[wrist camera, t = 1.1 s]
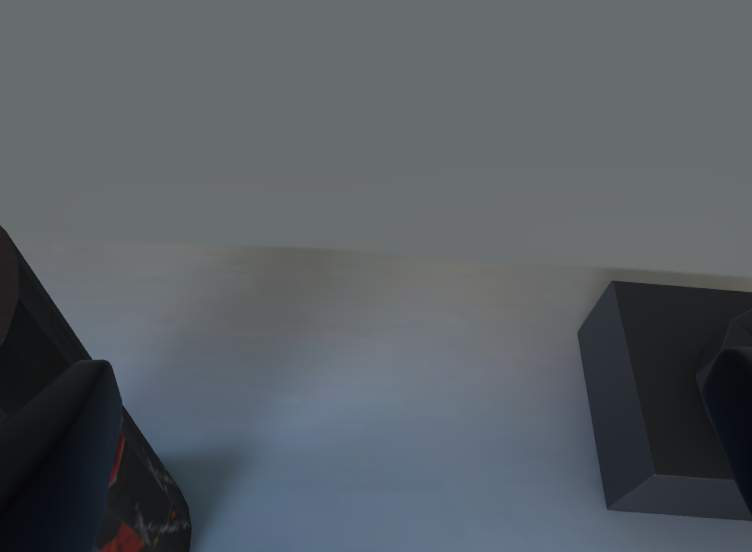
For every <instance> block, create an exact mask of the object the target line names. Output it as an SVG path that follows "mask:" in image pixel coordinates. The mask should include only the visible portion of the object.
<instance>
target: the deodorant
mask: <svg viewBox="0 0 752 552" xmlns="http://www.w3.org/2000/svg"><path fill="white" fill-rule="evenodd" d="M80 360H92V358H91V357H90V355H89V354H88V353H87V351H86V350H85V348H84V347H83V345H82V344H81V342H80V341H79V339H78V338H77V336H76V335H75V333H74V332H73V330H72V329H71V327H70V326H69V324H68V323H67V321H66V320H65V318H64V317H63V315H62V314H61V312H60V311H59V309H58V308H57V306H56V305H55V303H54V302H53V300H52V299H51V298H50V296H49V295H48V293H47V292H46V290H45V289H44V287H43V286H42V284H41V283H40V281H39V280H38V278H37V277H36V275H35V274H34V272H33V271H32V269H31V268H30V266H29V265H28V263H27V262H26V260H25V259H24V257H23V256H22V254H21V253H20V251H19V250H18V248H17V247H16V245H15V244H14V243H13V241H12V240H11V238H10V237H9V235H8V234H7V232H6V231H5V230H4V229H3V228H2V227H1V226H0V423H1V422H3V421H4V420H5V419H6V418H8V417H9V416H10V415H11V414H12V413H14V412H15V411H16V410H17V409H18V408H20V407H21V406H22V405H23V404H24V403H26V402H27V401H28V400H29V399H31V398H32V397H33V396H34V395H35V394H37V393H38V392H39V391H40V390H41V389H43V388H44V387H45V386H46V385H48V384H49V383H50V382H51V381H52V380H54V379H55V378H56V377H57V376H58V375H60V374H61V373H62V372H63V371H64V370H66V369H67V368H68V367H69V366H71V365H72V364H73V363H75V362H77V361H80ZM122 406H123V405H122ZM190 537H191V522H190V516H189V510H188V506H187V504H186V502H185V500H184V498H183V496H182V493H181V491H180V489H179V488H178V486H177V485H176V483H175V482H174V480H173V479H172V477H171V476H170V474H169V473H168V471H167V470H166V468H165V467H164V465H163V464H162V463H161V461H160V460H159V458H158V457H157V455H156V454H155V452H154V451H153V449H152V448H151V446H150V445H149V443H148V442H147V440H146V439H145V437H144V436H143V434H142V433H141V431H140V430H139V428H138V427H137V425H136V424H135V422H134V421H133V419H132V418H131V416H130V415H129V413H128V412H127V410H126V409H125V408H124V406H123V411H122V420H121V425H120V430H119V435H118V440H117V445H116V451H115V456H114V461H113V466H112V471H111V476H110V482H109V487H108V492H107V497H106V502H105V507H104V511H103V516H102V520H101V524H100V527H99V531H98V534H97V537H96V541H95V544H94V547H93V550H92V552H189V547H190Z"/></svg>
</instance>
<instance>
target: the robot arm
mask: <svg viewBox="0 0 752 552" xmlns="http://www.w3.org/2000/svg"><path fill="white" fill-rule="evenodd" d="M702 396H703V401H704V404H705V406H706V409H707V411H708V414H709V416H710V419H711V421H712V424H713V427H714V429H715V432H716V434H717V437H718V439H719V442H720V445H721V447H722V450H723V452H724V455H725V457H726V460H727V462H728V465H729V468H730V470H731V473H732V475H733V478H734V480H735V482H736V485H737V487H738V489H739V492H740V494H741V496H742V498H743V500H744V502H745V504H746V506H747V508H748V510H749V512H750V514H751V516H752V347H727V348H724V349H723V350H722V351H720V353H719V354H718V356H717V358H716V360H715V362H714V364H713V366H712V368H711V370H710V372H709V374H708V376H707V378H706V380H705V382H704V384H703V388H702ZM122 411H123V406H122V399H121V396H120V392H119V389H118V385H117V382H116V378H115V375H114V372H113V368H112V366H111V364H110V363H109V362H108V361H106V360H80V361H77V362H75V363H73V364H72V365H71V366H69V367H68V368H67V369H66V370H64V371H63V372H62V373H61V374H60V375H58V376H57V377H56V378H55V379H54V380H52V381H51V382H50V383H49V384H48V385H46V386H45V387H44V388H43V389H41V390H40V391H39V392H38V393H37V394H35V395H34V396H33V397H32V398H31V399H29V400H28V401H27V402H26V403H24V404H23V405H22V406H21V407H20V408H18V409H17V410H16V411H15V412H14V413H12V414H11V415H10V416H9V417H8V418H6V419H5V420H4V421H3V422H1V423H0V552H92V550H93V547H94V544H95V541H96V537H97V534H98V531H99V527H100V524H101V520H102V516H103V511H104V507H105V502H106V497H107V492H108V487H109V482H110V476H111V471H112V466H113V461H114V456H115V451H116V445H117V440H118V435H119V430H120V425H121V420H122Z"/></svg>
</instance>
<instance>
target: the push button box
mask: <svg viewBox="0 0 752 552" xmlns="http://www.w3.org/2000/svg"><path fill="white" fill-rule="evenodd" d="M578 339H579V345H580V351H581V357H582V363H583V369H584V375H585V381H586V387H587V393H588V399H589V405H590V411H591V417H592V423H593V429H594V435H595V441H596V446H597V452H598V458H599V464H600V470H601V476H602V482H603V488H604V494H605V500H606V506H607V509H608V510H616V511H629V512H642V513H655V514H669V515H682V516H695V517H708V518H721V519H734V520H747V521H752V516H751V514H750V512H749V510H748V508H747V506H746V504H745V502H744V500H743V498H742V496H741V494H740V492H739V489H738V487H737V485H736V482H735V480H734V478H733V475H732V473H731V470H730V468H729V465H728V462H727V460H726V457H725V455H724V452H723V450H722V447H721V445H720V442H719V439H718V437H717V434H716V432H715V429H714V427H713V424H712V421H711V419H710V416H709V414H708V411H707V409H706V406H705V404H704V401H703V396H702V388H703V384H704V382H705V380H706V378H707V376H708V374H709V372H710V370H711V368H712V366H713V364H714V362H715V360H716V358H717V356H718V354H719V353H720V351H722V350H723V349H724V348H727V347H752V292H741V291H729V290H718V289H706V288H694V287H682V286H670V285H658V284H646V283H634V282H622V281H611V282H610V284H609V285H608V287H607V288H606V290H605V291H604V293H603V294H602V296H601V297H600V299H599V301H598V302H597V304H596V305H595V307H594V308H593V310H592V311H591V313H590V314H589V316H588V317H587V319H586V320H585V322H584V323H583V325H582V326H581V328H580V329H579V331H578Z"/></svg>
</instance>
